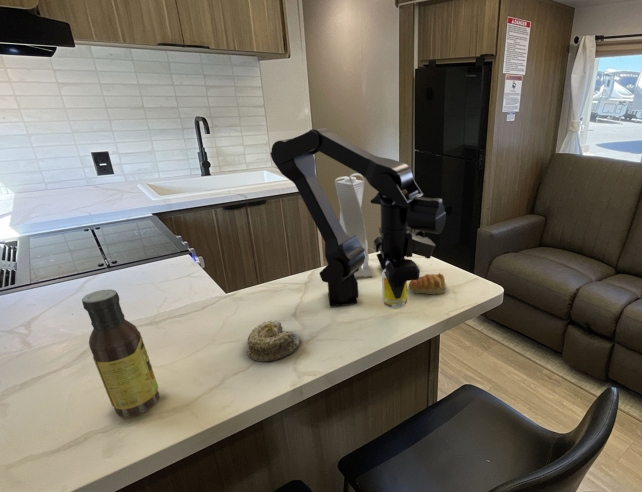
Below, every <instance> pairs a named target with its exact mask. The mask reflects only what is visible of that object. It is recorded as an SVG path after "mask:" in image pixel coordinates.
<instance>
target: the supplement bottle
mask: <svg viewBox="0 0 642 492" xmlns="http://www.w3.org/2000/svg"><path fill="white" fill-rule="evenodd" d="M388 263H389V261H387V262H386V265H387V264H388ZM384 272H386V269H384V270H383V272H382V271H381V285H382V286H381V287H382V288H381V291H382V304H383V306H384V307H386V308H387V309H391V310H399V309H402V308H404V307H406V306H407V303H408V281H406V283H405V286H404V289H403V292H402V295H401V298H399V299H396V298H395V296H394V294H393V292H392V289H391V287H390V285H389V282H388V280H387V278H386V275H385V273H384Z"/></svg>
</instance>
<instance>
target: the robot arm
mask: <svg viewBox="0 0 642 492" xmlns="http://www.w3.org/2000/svg"><path fill="white" fill-rule="evenodd" d="M318 153H320V154H321V153H322V154H323V155H325V156H327V157H328V158H331V159H332V160H333V161H336V162H338V163H340V164H341V165H343V166H345V167H347V168H348V169H351V170H352V171H354V172H355V173H358V174H361V175H362V176H363V178H364V179H366V180H365V181H367V182H368V185H369V186H370V187H372V188H374V190H376V192H377V193H376V195H375V196H374V197H373V198H372V199H370V203H371V204H373V205H379V206H380V227H378V233H379V235H380V236H377V237H376V238H375V239H374V240H373V250H374V252H375V253H377V254H376V257H377V261H378V262H379V265H380V268H381V267H382V269H383V270H384V269H386V272H384V273H385V275H386V278H387V280H388V282H389V285H390V287H391V289H392V292H393V294H394V296H395V298H396V299H399V298H401V295H402V292H403V289H404V286H405V283H406V281H407V282H410V281H411V280H418V279H419V277H420V268H419V267H418V265H417V263H416V262H415V261H414V260H412V259H409V260H405V258H412V257H413V255H417V256H420V257H424V258H425V259H427V260H428V259H431V257H432V256H433V255H432V254H433V252H434V250H435V247H436V244H435V243H434V241H432V240H431V239H430V238H429V237H428V236H426V234H425V233H430V234H435V235H437V234H438V235H439V234H440V235H441V233H442V232H443V230H444V227H445V224H446V219H447V212H446V210H445V206H444V205H443V198H440V197H434V198H433V197H432V198H431V197H424V193H423V192H422V190H421V188H420V187H419V185H418V184H417V182H416V180H415V178H414V177H413V174H414V173H412V168H411V167H410V166H409V165H408V164H406V163H405V162H401V161H399V160H395V159H392V158H388V157H381V156H377V155H375V154H373V153H371V152H369V151H367V150H365V149H363V148H361V147H360V146H358V145H356V144H354V143H352V142H350V141H348V140H346V139H345V138H343V137H341V136H339V135H337V134H335V133H333V132H332V131H331V130H330V129H328V128H326V127H320V128H313V129H309V130H308V131H307V132H304V133H303V134H301V135H298V136H295V137H292V138H288V139H282V140H281V139H280V140H277V141H275V142H274V143H273V144H272V146H271V152H270V158H271V161H272V162H273V164H274V165H275V167H276V168H277V169H278V171H279V172H280V174H282V176H284V177H285V178H287V179H288V180H289V181H290V182H292V183H293V184H294V186H295V187H296V189H297V191H298V193H299V196H300V197H301V199H302V201H303V202H304V205H305V206H306V208H307V211H308V212H309V214H310V216H311V218H312V220H313V222H314V225H316V228H317V230H318V232H319V233H320V235H321V237H322V240H323V241H324V257H325V260H326V262H327V265H326V266H325V267H324V268H323V269H322V270H320V271H319V274H318V275H319V277H320V279H321V281H322V282H324V283H327V289H328V291H327V298H328V305H329V307H338V306H339V307H340V306H347V305H348V306H349V305H355V304H358V298H359V282H358V279H356V278H355V276H354V273H356V272H358V271H359V268H360V266H362V265H363V263H364V260H365V254H364V251H365V249H364V248H363V247H362V246H361V244H360V241H359V238H358V237H357V236H354V237H350V236H349V235H348V234H346V233H345V231H344V230H343V228H342V226H341V224H340V219H338V216H337V214H336V212H335V211H334V208H333V207H332V204H331V203H330V200H329V199H328V197H327V195H326V193H325V191H324V189H323V187H322V185H321V183H320V181H319V179H318V177H317V175H316V159H315V156H314V155H316V154H318ZM405 191H406V193H403V192H405ZM409 228H410V229H411V230H413V232H411V231H410V230H409ZM387 261H389V263H388V264H387V265H386V262H387ZM413 261H414V262H415V263H414V262H413Z"/></svg>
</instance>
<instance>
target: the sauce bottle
mask: <svg viewBox="0 0 642 492" xmlns="http://www.w3.org/2000/svg"><path fill="white" fill-rule="evenodd" d="M81 303H82V306H83V309H84V310H85V311H87V314H88V317H89V319H90V323H91V324H90V325H91V326H92V328H93V329H92V331H91V333H90V335H89V340H88V346H89V349H90V352H91V354H92V359H93V361H94V362H93V363H94V364H95V367H96V369H97V372H98V374H99V377H100V380H101V382H102V385H103V388H104V389H105V392H106V394H107V397H108V399H109V403H110V405H111V406H112V407H113V410H114V412H115V413H116V415H118V417H120V418H133V417H137V416H139V415H142V414H144V413H146V412H148V411H150V409H152V408H153V407H155V406H156V405H157V403H158V402H159V400H160V392H159V385H158V381H157V378H156V376H155V372H154V370H153V366H152V363H151V360H150V357H149V354H148V351H147V348H146V345H145V343H144V340H143V337H142V334H141V332H140V330H139V329H138V328H137V326H136V325H134V323H132V322H130V321H128V320H127V319H126V318H125V313H124V312H123V310H122V307H121V304H120V295H119V293H118V292H117V290H115V289H110V288H109V289H100V290H96V291H92V292H90V293H88V294H86V295H84V296H83V297H82V299H81Z"/></svg>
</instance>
